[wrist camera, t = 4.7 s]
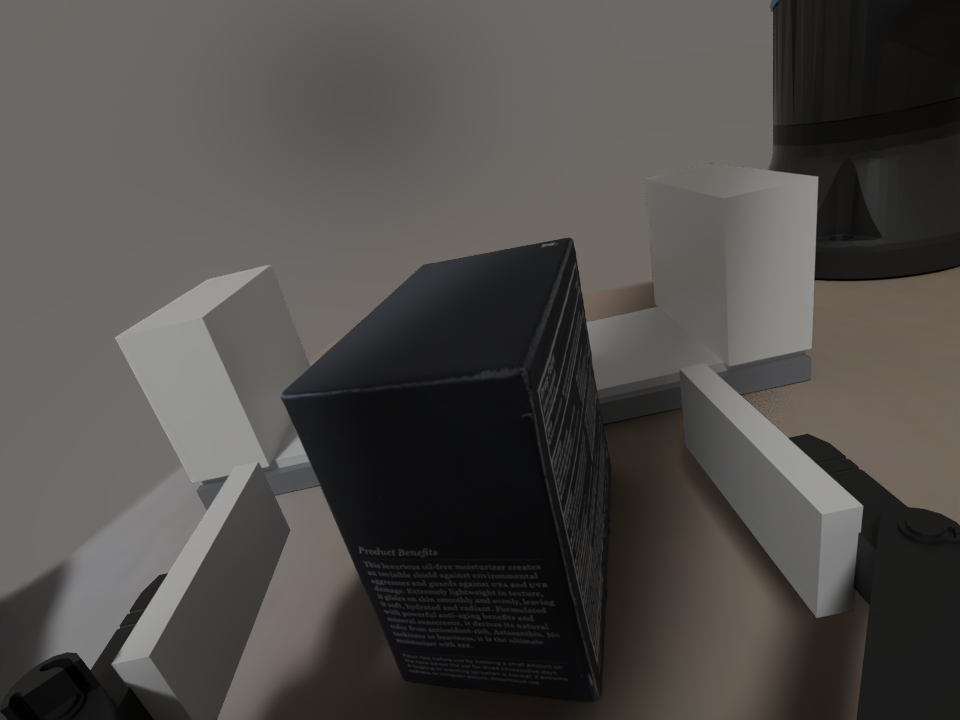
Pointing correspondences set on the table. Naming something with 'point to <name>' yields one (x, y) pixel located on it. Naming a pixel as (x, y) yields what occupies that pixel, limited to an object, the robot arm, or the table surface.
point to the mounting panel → (599, 383)
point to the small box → (472, 471)
